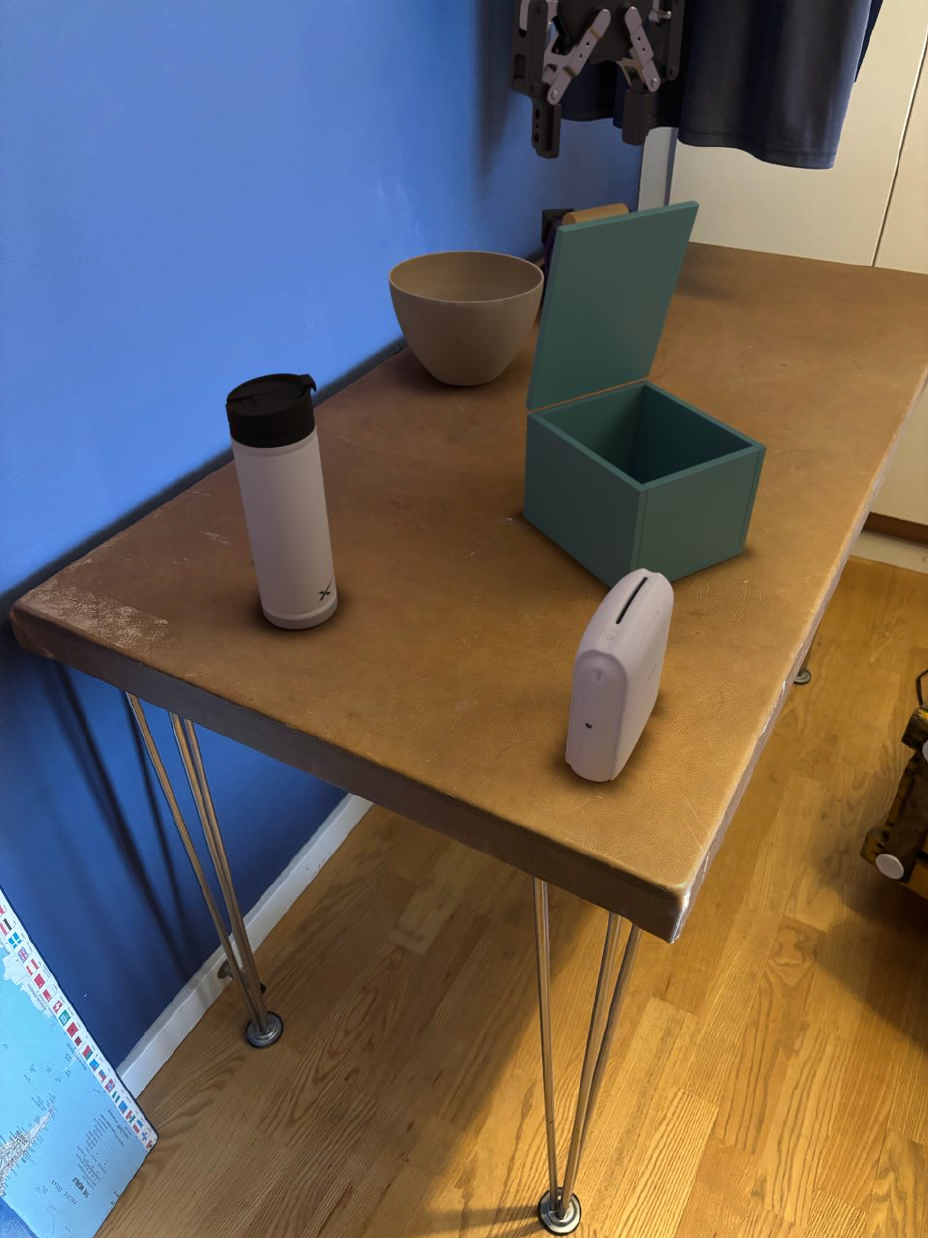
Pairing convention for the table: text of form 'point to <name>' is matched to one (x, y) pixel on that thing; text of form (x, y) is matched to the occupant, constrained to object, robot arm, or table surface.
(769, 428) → the table surface
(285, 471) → the travel mug
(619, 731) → the photo printer
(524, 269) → the beige bowl
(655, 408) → the chest
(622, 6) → the robot arm
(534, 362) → the lid
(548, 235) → the energy cube
